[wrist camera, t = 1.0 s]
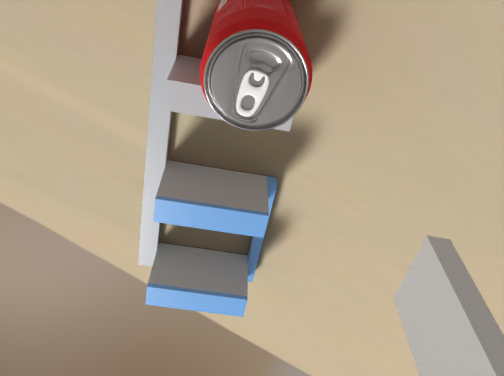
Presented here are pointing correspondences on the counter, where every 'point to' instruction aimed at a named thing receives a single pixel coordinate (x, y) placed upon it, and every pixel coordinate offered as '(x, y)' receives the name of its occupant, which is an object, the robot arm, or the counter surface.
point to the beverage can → (255, 64)
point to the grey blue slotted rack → (194, 193)
